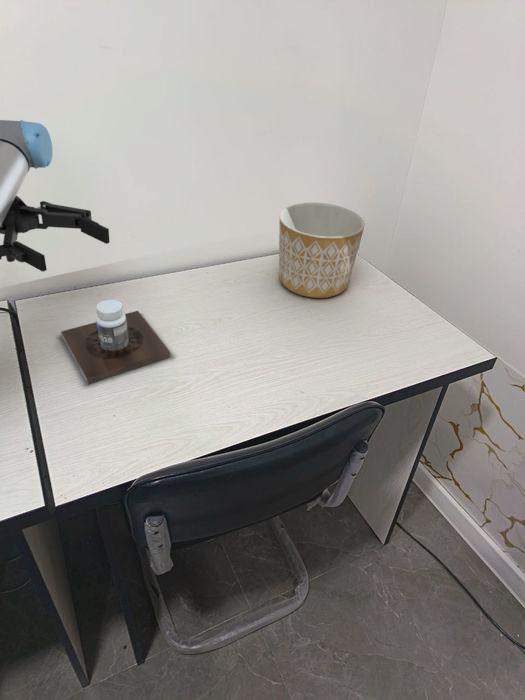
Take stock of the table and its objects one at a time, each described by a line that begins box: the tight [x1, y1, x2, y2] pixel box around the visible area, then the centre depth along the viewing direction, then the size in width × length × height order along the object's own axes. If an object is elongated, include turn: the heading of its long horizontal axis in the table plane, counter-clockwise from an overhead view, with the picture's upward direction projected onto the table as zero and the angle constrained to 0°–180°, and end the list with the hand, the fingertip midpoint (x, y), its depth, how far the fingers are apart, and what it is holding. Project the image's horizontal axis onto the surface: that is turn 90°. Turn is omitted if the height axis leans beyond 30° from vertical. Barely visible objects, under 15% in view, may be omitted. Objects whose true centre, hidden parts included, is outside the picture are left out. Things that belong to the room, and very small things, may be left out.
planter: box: [278, 202, 366, 299], centre depth 117 cm, size 19×19×16 cm
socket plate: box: [60, 310, 171, 385], centre depth 97 cm, size 16×16×2 cm
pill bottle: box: [95, 299, 129, 351], centre depth 94 cm, size 6×6×10 cm
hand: (77, 249), depth 84 cm, fingers open, 13 cm apart
